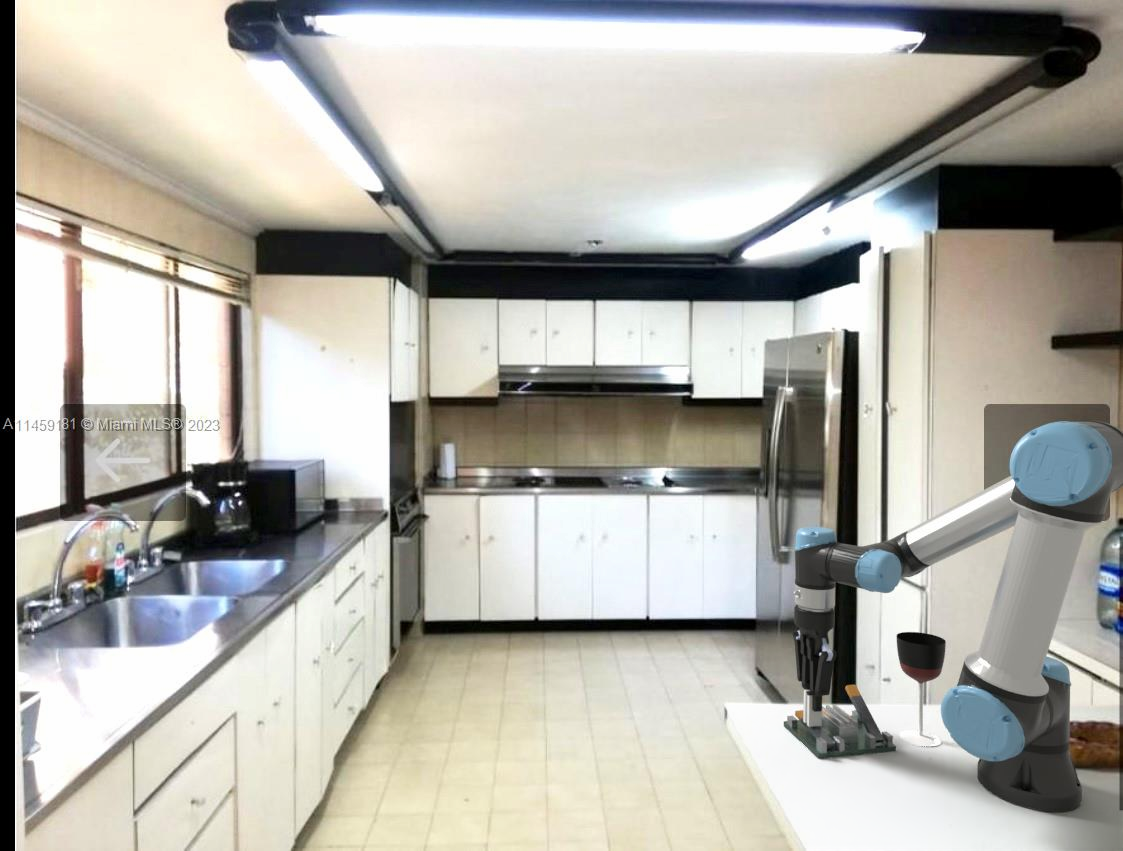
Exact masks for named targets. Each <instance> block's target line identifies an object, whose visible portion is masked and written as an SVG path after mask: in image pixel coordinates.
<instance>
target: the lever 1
mask: <svg viewBox="0 0 1123 851" xmlns="http://www.w3.org/2000/svg"><path fill="white" fill-rule="evenodd" d="M794 715H795V716H794V717H795V718H796V719H797V720H800V721H801V723H802V724H803V725H804V726H805V727H806V728H807V729H808V730H809V731H810V732H811V734H812V735H813V736H814V737H815V738H820V737H821V738H823V739H824V740H825V741H826V742H827V749H829V748H835V742H834V741H833V740H832V739H831V738H830V737H829V736H828V735H827V734H826V733H825V731H824V730H823V729H822V728H821V727H820V726H812V727H809V726H808V725H807V723H804V722H803V709H800V710H795V712H794Z"/></svg>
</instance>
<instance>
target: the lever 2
mask: <svg viewBox="0 0 1123 851" xmlns="http://www.w3.org/2000/svg"><path fill="white" fill-rule="evenodd" d="M844 689H845V692H846V693H847V695H848V697H849V700H850V701H851V703H852V705H853V706H854V710H856V711H857V713H858V715H859V717H860V719H861V721H862V723H863V725H864V727H865V729H866V730H867V732H868V733H870V734H871V735H873V736H874V737H875V738H876V743H882V742H883V741H884V738H883V736H882V731H881V730H880V729H879V726H878V725H877V723H876V721H875V719H874V716H873V715H872V713H871V711H870V709H869V707H868V706H867V703H866V702H865V700H864V698H863V696H862V694H861V693H860V691H859V688H858V687H857V685H856V684H847V685H846V686H845V688H844Z"/></svg>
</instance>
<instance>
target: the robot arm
mask: <svg viewBox="0 0 1123 851" xmlns="http://www.w3.org/2000/svg"><path fill="white" fill-rule="evenodd" d="M1009 472H1010V475H1009V476H1008V477H1006V478H1004V479H1002V480H1000V481H998V482H996V483H995V484H993V485H990V486H989V487H987V488H985V489H984V490H981V491H979V492H977V493H975V494H973V495H971V496H969V497H968V498H966V499H964V500H962V501H961V502H959V503H957V504H955V505H953V506H952V507H949V508H947V509H946V510H943V511H942V512H939V513H938V514H936V515H934V516H933V517H930V518H929V519H927V520H924V521H923V522H921V523H919V524H918V525H915V526H914V527H912V528H909V529H908V530H907V531H904V532H902V533H900V534H899V535H896V536H895V537H893V538H891V539H888V540H885V541H880V542H876V543H871V544H866V545H863V546H862V545H854V544H853V545H852V544H847V543H842V542H839V541H838V539H837V534H836V531H835V530H834V529H831V528H828V527H822V526H805V527H801V528H799V529H798V530H797V531H796V534H795V546H794V565H795V566H794V569H795V571H794V572H795V574H794V575H795V578H794V590H793V592H792V593H793V595H794V603H795V604H796V605H795V606H794V609H793V610H794V611H793V614H794V615H793V623H794V625H795V626H796V627H798V628H799V630H793V631H792V636H793V640H794V651H795V662H796V664H795V665H796V677H797V681H798V682H801V687H802V689H803V709H802V710H803V722H804V723H807V725H808V726H809V727H812V726H822V706H823V696H829V695H830V692H831V685H832V679H833V678H832V677H833V670H834V665H835V664H834V662H836V659H837V656H838V654H837V651H836V650H832V649H831V648H830V646H829V644H830V638H829V632H830V631H831V630H833V629H834V628H835V621H836V620H835V619H836V618H835V613H836V612H835V609H834V607H835V606H836V583H837V584H842V585H846V586H850V587H854V588H858V589H861V590H865V591H868V592H872V593H873V592H874V593H876V592H877V593H880V594H881V593H882V594H889V593H892V592H893V591H894V590H895V588H896V587H898V585H899V583H900V582H901V579H905V578H912V577H913V576H916V575H919V574H920V573H921V572H923V571H925V570H926V569H927V568H929V567H931V566H933V565H935V564H937V563H939V562H941V561H944V560H945V559H947V558H950V557H951V556H954V555H956V554H958V553H960V552H963V551H964V550H966V549H968V548H970V547H973V546H975V545H977V544H979V543H981V542H983V541H985V540H988V539H989V538H991V537H994V536H996V535H999V534H1000V533H1002V532H1005V531H1007V530H1009V529H1011V528H1013V530H1012V531H1013V532H1012V534H1011V538H1010V541H1009V545H1008V549H1007V551H1006V555H1005V559H1004V563H1003V566H1002V569H1001V573H1000V575H999V579H998V584H997V587H996V590H995V592H994V593H995V594H994V597H993V600H992V604H991V607H990V611H989V614H988V617H987V621H986V625H985V627H984V631H983V636H982V638H981V642H980V646H979V650H977V651H975V652H971V653H968V654H967V655H966V656H965V658H964V662H963V665H962V668H961V671H960V675H959V677H958V678H959V679H958V682H957V684H956V686H954V687H951V688H950V689H949V690H948V691H947V692H946V694H945V695H944V697H943V698H942V701H941V706H940V713H941V714H940V715H941V719H942V722H943V725H944V727H945V729H947V731H948V733H949V736H950V737H951V739H952V740H953V741H954V742H955V743H956V744H957V745H958V746H959V747H960V749H962V750H964V751H965V752H966V753H968V754H970V755H972V756H973V757H975V758H978V762H977V765H976V767H977V768H976V770H977V772H976V773H977V774H976V777H977V780H978V782H979V784H980V785H981V786H982V787H983V788H984V789H985V790H987V791H988V792H989V793H991V794H993V795H995V797H996V796H997V797H998V798H1000V799H1002V800H1005V801H1007V802H1009V803H1012V804H1014V805H1017V806H1021V807H1024V808H1027V809H1033V810H1038V811H1043V812H1056V813H1057V812H1068V811H1073V810H1075V809H1078V808H1079V807H1080V806H1081V805H1082V803H1083V787H1082V784H1081V781H1080V779H1079V778H1078V772H1077V770H1076V766H1075V764H1074V761H1073V758H1072V756H1071V752H1070V751H1071V750H1070V738H1071V737H1070V736H1071V735H1070V729H1071V728H1070V727H1071V724H1070V723H1071V721H1070V720H1071V719H1070V718H1071V717H1070V716H1071V687H1072V682H1071V677H1070V669H1069V667H1068V666H1067V665H1066V664H1065V663H1064V662H1062V661H1061V660H1058V659H1056V658H1053V657H1051V656H1050V657H1049V656H1047V655H1048V652H1049V649H1050V647H1051V646H1050V645H1051V643H1052V640H1053V636H1054V634H1055V631H1056V630H1055V629H1056V627H1057V623H1058V620H1059V617H1060V614H1061V610H1062V607H1063V603H1064V600H1065V597H1066V594H1067V592H1068V588H1069V584H1070V582H1071V579H1072V578H1071V577H1072V576H1073V572H1074V569H1075V564H1076V563H1077V559H1078V556H1079V553H1080V549H1081V547H1082V543H1083V541H1084V536H1085V533H1086V531H1088V530H1089V529H1091V528H1094V527H1096V526H1098V525H1101V524H1102V523H1103V519H1104V516H1105V513H1106V510H1107V507H1108V504H1109V502H1110V501H1109V500H1110V497H1111V494H1112V493H1114V492H1117V491H1118V490H1121V488H1123V430H1122V429H1120V428H1119V427H1117V426H1116V425H1113V424H1110V423H1108V422H1105V421H1099V420H1098V421H1097V420H1081V421H1067V420H1064V421H1063V420H1061V421H1055V422H1049V423H1045V424H1044V425H1041V426H1039V427H1036V428H1034V429H1032V430H1030V431H1028V433H1026V434H1025V435H1023V436H1022V437H1021V438H1020V439H1019V440H1018V441H1017V442H1016V444H1015V446H1014V447H1013V450H1012V452H1011V455H1010V459H1009ZM1081 802H1082V803H1081ZM1080 804H1081V805H1080ZM1077 807H1078V808H1077Z"/></svg>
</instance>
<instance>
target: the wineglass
mask: <svg viewBox="0 0 1123 851" xmlns="http://www.w3.org/2000/svg"><path fill="white" fill-rule="evenodd" d="M946 645H947V644H946V640H945V639H944V638H943V637H941V636H938V635H935V634H931V633H926V632H917V631H916V632H915V631H905V632H904V631H903V632H898V633H897V634H896V650H897V651H896V652H897V656H898V661H899V665H900V668H901V670H902V672H903V673H904V674H905V675H906V676H908V677H909V678H911V679H913V680H914V681H915V682H917V683H918V693H917V694H918V695H917V696H918V697H917V698H918V706H917V707H918V708H917V709H918V713H917V714H918V718H917V720H918V721H917V723H918V730H917V729H906V730H902V731H901V732H900V733H899V737H900V739H901V740H903V741H904V742H906V743H908V744H909V745H912V746H917V747H921V746H923V747H922V748H927V747H926V746H927V745H928V746H930V745H931V744H935V742H934V739H936V738H934V737H933V736H932V735H931V734H932V733H931V734H928V733H929V732H928V733H926V732H927V731H924V730H923V727H924V724H923V719H924V718H923V717H924V716H923V715H924V713H923V711H924V710H923V709H924V706H923V705H924V696H923V694H924V693H923V692H924V688H923V686H924V685H923V684H925V683H926V682H931V681H933V680H936V678H937V679H938V678H939V676H941V674H942V671H943V667H944V662H945V657H946V656H945V655H946V647H947V646H946ZM907 730H908V731H907ZM923 731H924V732H923ZM924 746H925V747H924Z"/></svg>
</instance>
